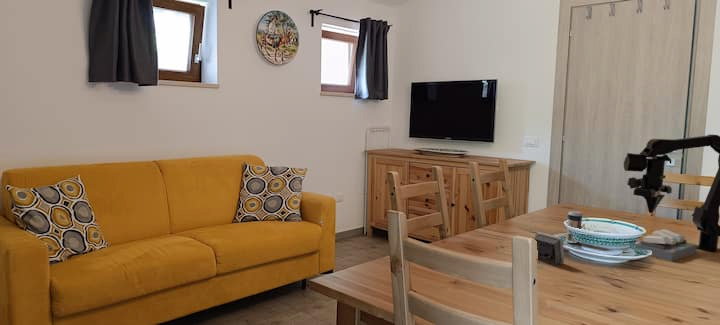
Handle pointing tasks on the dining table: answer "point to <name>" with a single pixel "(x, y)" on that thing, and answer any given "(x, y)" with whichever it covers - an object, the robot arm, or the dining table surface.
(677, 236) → the rocker
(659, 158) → the robot arm
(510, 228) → the dining table surface
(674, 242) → the rocker
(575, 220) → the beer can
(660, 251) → the console
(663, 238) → the rocker
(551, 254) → the electrical switch
